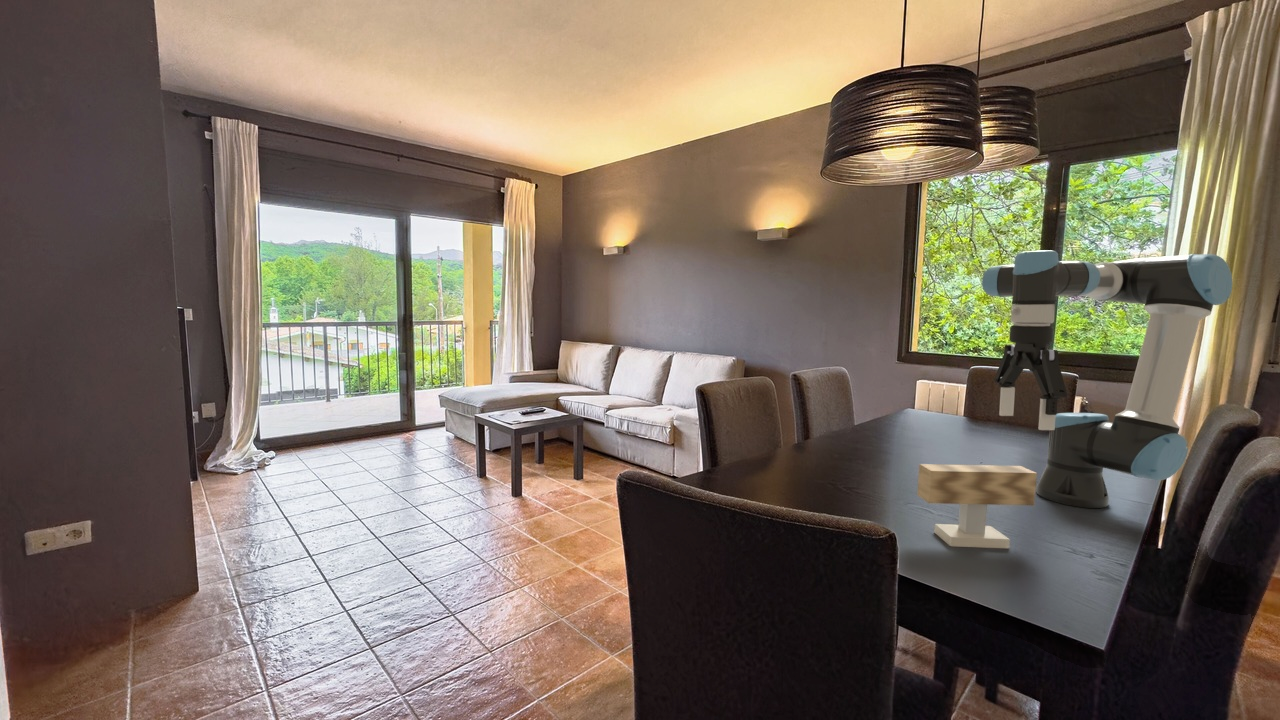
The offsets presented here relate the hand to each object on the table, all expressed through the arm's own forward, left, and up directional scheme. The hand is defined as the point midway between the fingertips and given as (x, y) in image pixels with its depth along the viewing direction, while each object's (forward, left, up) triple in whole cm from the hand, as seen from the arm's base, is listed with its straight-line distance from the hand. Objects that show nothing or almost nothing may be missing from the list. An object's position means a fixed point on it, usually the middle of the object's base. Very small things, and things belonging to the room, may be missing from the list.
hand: (1025, 422), depth 119 cm
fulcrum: (+12, +4, -26) cm, 28 cm away
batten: (+11, +4, -17) cm, 20 cm away
